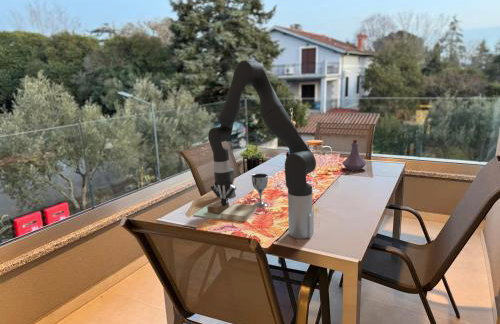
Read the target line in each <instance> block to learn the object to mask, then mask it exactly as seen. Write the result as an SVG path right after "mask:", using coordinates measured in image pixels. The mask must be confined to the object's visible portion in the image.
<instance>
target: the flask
mask: <svg viewBox="0 0 500 324" xmlns="http://www.w3.org/2000/svg"><path fill="white" fill-rule="evenodd" d="M350 145H351V151H350V154H349V155H348V157H346V159H345V160H344V161H343V162H341V164H342V165H343V166H344V167H345V169H346V170H348V171H350V170H354V171H353V172H358V171H357V170H360V171H361V170H363V168H364V167H365V166H366V165H367V163H368V162H367V161H366V160H365V159H364V158H363V157H362V156H361V154H360V152H359V143H358V139H353V140H352V143H351V144H350Z"/></svg>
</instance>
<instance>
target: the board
mask: <svg viewBox="0 0 500 324" xmlns="http://www.w3.org/2000/svg"><path fill="white" fill-rule="evenodd" d="M257 209H258V207H257V205H254V204H244V203H238V202H237V203H236V202H233V203H232V204H230V206H229V207H228V208H227V209H226V210H224V211H223V212H222V213H221V219H222V220H227V221H228V220H231V221H236V222H247V220H249V219H250V218H251V217H252V216H253V215H254V214H255V213H256V212H257ZM221 219H220V220H221Z"/></svg>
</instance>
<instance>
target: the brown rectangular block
mask: <svg viewBox="0 0 500 324" xmlns="http://www.w3.org/2000/svg"><path fill="white" fill-rule="evenodd" d="M229 205H230V202H229V201H228V204H227V205H226V206H222V204H221V200H217V201H215V202H214V203H211V205H209V206H207V205H206V206H207V209H208V212H209V213H213V214H220V213H221V212H223V211H224V210H226V209H227V208H228V207H229Z"/></svg>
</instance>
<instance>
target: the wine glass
mask: <svg viewBox="0 0 500 324" xmlns="http://www.w3.org/2000/svg"><path fill="white" fill-rule="evenodd" d="M268 182H269V175H268V173H254V174H252V175H251V183H252V186H253V188H254V189H255V191H256V192H257V194H258V196H259V201H258V202H255V203H253V205H257V208H264V207H266V206H268V205H269V204H268V203H267V202H265V201H262V194H263V192H264V191H265V189H266V188H268V187H267V186H268Z"/></svg>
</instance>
